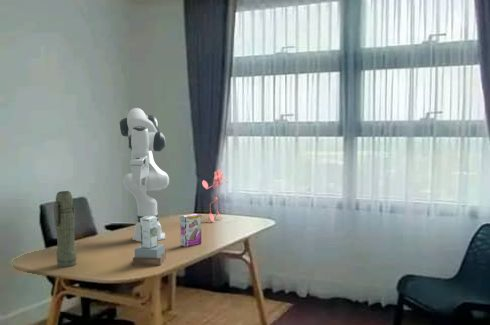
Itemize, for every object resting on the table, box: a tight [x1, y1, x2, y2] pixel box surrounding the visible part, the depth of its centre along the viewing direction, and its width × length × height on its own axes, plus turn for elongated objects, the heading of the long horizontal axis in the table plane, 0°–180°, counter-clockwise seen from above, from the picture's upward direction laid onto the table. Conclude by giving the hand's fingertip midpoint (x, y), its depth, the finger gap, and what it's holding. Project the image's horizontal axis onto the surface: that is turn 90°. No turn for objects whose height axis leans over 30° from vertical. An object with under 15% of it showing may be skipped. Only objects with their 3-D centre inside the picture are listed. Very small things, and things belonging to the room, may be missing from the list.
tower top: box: [134, 243, 166, 258], centre depth 264 cm, size 11×11×4 cm
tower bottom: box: [132, 251, 167, 266], centre depth 264 cm, size 13×13×4 cm
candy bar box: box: [179, 213, 202, 248], centre depth 298 cm, size 11×5×16 cm, turn 135°
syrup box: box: [140, 216, 159, 248], centre depth 262 cm, size 6×6×14 cm
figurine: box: [201, 168, 229, 224], centre depth 365 cm, size 15×26×35 cm, turn 152°
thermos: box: [53, 190, 78, 268], centre depth 260 cm, size 9×12×35 cm
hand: (141, 187), depth 274 cm, fingers open, 8 cm apart
